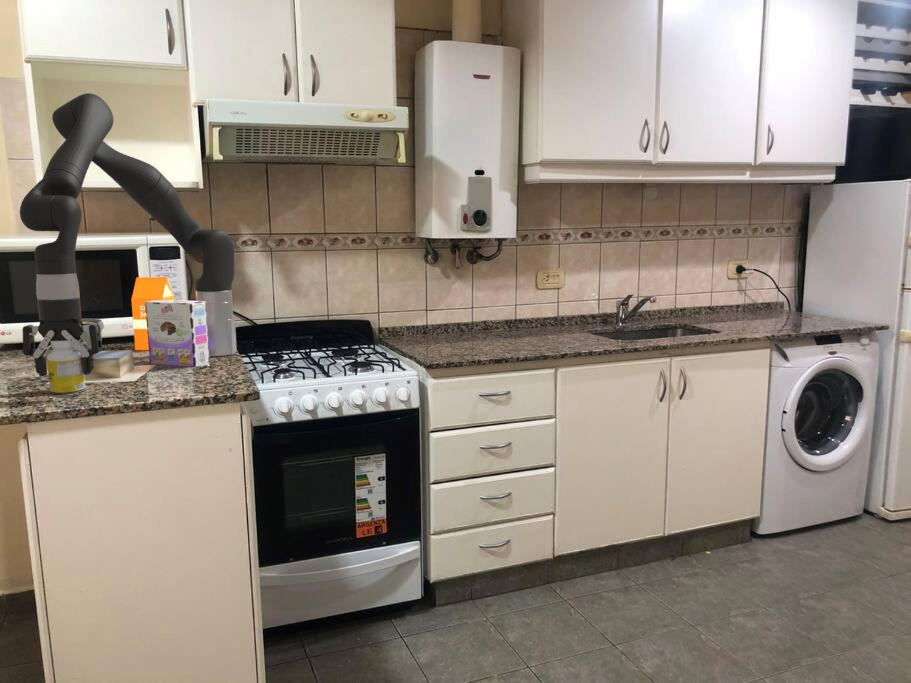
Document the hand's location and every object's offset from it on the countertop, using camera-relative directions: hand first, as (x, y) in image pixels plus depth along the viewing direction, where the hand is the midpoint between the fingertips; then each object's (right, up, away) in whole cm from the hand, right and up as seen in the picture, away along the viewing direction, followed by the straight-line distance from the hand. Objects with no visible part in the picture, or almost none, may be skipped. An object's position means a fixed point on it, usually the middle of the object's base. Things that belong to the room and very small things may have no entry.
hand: (65, 374), depth 146 cm
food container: (-17, +2, +42) cm, 46 cm away
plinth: (0, -1, +16) cm, 16 cm away
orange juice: (-5, +5, +57) cm, 57 cm away
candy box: (+12, 0, +29) cm, 32 cm away
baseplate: (0, -2, +17) cm, 17 cm away
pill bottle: (0, -4, +1) cm, 5 cm away
